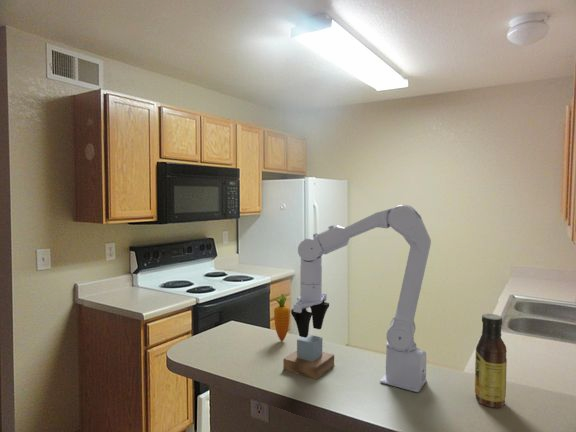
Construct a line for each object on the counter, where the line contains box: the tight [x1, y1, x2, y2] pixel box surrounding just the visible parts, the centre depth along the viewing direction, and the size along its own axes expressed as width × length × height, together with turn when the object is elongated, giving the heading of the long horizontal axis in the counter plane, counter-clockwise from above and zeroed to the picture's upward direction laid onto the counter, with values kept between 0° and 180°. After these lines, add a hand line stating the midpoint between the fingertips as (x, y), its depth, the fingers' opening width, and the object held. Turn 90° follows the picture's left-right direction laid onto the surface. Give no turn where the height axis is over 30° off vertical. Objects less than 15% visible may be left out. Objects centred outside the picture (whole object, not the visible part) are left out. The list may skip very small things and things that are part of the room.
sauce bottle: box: [474, 313, 508, 409], centre depth 90 cm, size 6×6×20 cm
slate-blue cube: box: [296, 333, 323, 362], centre depth 108 cm, size 5×5×5 cm
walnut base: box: [283, 350, 335, 380], centre depth 108 cm, size 10×10×3 cm
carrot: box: [273, 293, 291, 342], centre depth 127 cm, size 5×5×15 cm
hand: (310, 332), depth 108 cm, fingers open, 7 cm apart
